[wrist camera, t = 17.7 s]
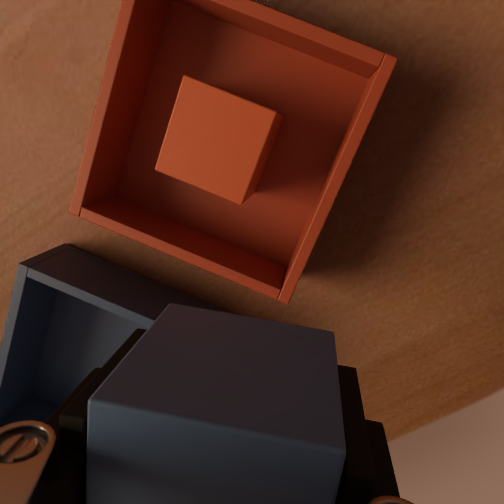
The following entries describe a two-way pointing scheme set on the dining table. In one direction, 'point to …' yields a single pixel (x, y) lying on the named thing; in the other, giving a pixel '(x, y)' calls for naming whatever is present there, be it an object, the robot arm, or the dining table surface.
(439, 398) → the dining table surface
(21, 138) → the dining table surface
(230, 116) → the terracotta block
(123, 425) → the blue block
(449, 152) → the dining table surface
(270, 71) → the terracotta bin
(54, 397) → the blue bin
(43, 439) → the robot arm
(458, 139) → the dining table surface
